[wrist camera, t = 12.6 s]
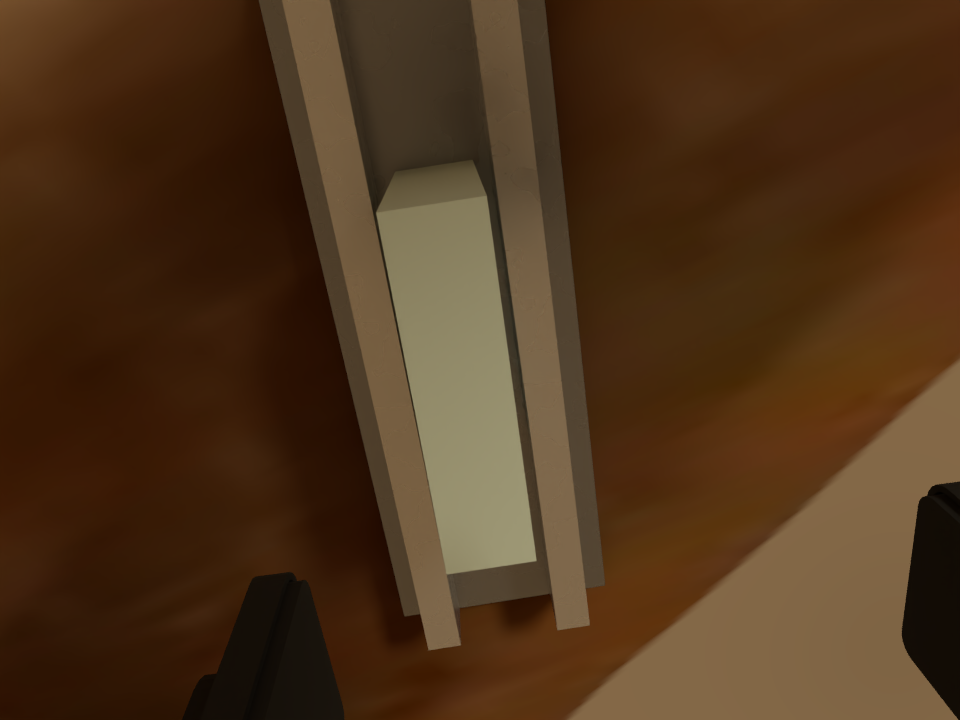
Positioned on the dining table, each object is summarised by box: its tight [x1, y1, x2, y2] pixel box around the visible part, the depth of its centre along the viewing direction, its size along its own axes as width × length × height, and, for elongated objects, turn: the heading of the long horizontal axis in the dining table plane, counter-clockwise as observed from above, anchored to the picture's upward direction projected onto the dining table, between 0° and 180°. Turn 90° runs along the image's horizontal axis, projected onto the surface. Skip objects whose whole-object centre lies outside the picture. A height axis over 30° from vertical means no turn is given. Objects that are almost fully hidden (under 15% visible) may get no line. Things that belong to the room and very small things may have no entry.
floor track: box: [259, 0, 605, 650], centre depth 29 cm, size 30×10×4 cm, turn 9°
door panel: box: [376, 160, 537, 574], centre depth 26 cm, size 12×3×9 cm, turn 8°
